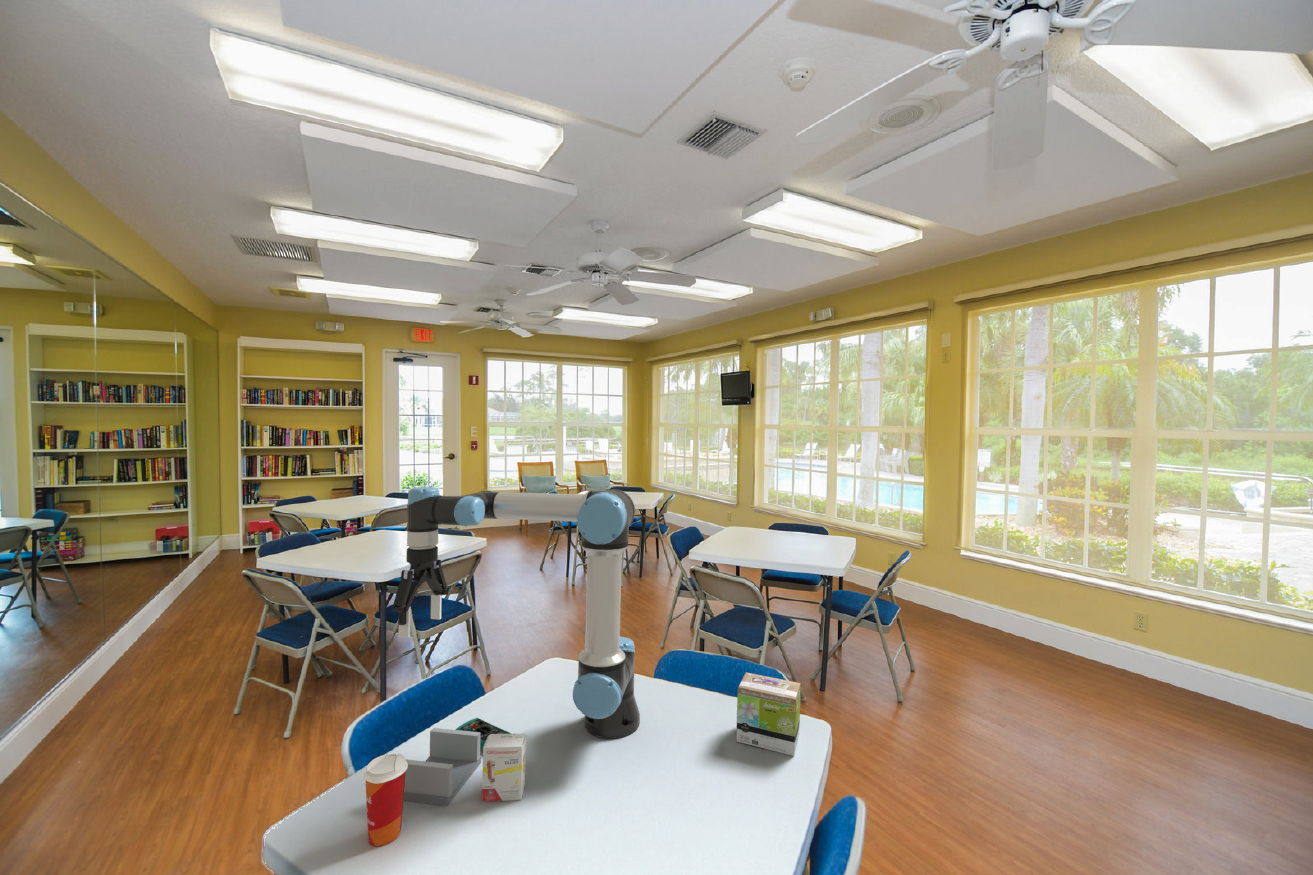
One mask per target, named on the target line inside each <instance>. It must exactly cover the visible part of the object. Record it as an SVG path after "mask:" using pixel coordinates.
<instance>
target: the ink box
mask: <svg viewBox="0 0 1313 875" xmlns="http://www.w3.org/2000/svg"><path fill="white" fill-rule="evenodd" d="M526 751H527V735H526V734H524V733H511V734H490V735H489V736H488V737H487V739H486V742H485V744H484V747H483V751H482V773H481V774H482V778H481V780H482V781H481V788H482V789H481V802H502V801H503V802H504V801H506V802H507V801H521V800H522V798H523V795H524V791H525V787H526V786H525V785H526V784H525V783H526V753H527V752H526Z"/></svg>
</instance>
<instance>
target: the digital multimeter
mask: <svg viewBox="0 0 1313 875" xmlns="http://www.w3.org/2000/svg"><path fill="white" fill-rule="evenodd" d="M454 730H460V731H470V732H480V733H481V734H480V751H482V752H483V747H484V744H485V742H486V739H487V737H488V736H489V735H490V734H512V733H511V732H509V731H507V730H505V729H502V728H501V727H498V726H496V725H494V724H491V723H490V722H487V721H485V720H483V719H481V718H479V717H476V718H472V719H470V720H468V721H466V722H464V723H462V724H461V725H459V726H457V728H455V729H454Z"/></svg>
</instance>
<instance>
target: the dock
mask: <svg viewBox="0 0 1313 875" xmlns="http://www.w3.org/2000/svg"><path fill="white" fill-rule="evenodd" d="M480 734H481V733H480V732H470V731H460V730H455V729H449V728H439V727H433V728H432V729H431V730H429V756H428V758H427V759H426V760H425V761H424V760H416V759H415V760H414V759H406V758H405V759H406V761H407V763H408V768H407V770H406V775H405V787H404V799H403V802H405V801H406V802H410V803H411V802H413V803H419V804H420V803H421V804H428V805H434V806H435V805H436V806H444V807H445V806H446V807H448V806H449V804H450V803H451V802H452V801H453V800H454V798H455V797H456V795H458V793H460V790H461V789H462V788H463V786H464V785H466V783H467V781H469V779H470V778H471V776H472V775H473V774H474V772H475V771H476V770H477V768H478V767H479V766H481V762H482V756H481V750H480Z"/></svg>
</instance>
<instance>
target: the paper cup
mask: <svg viewBox="0 0 1313 875" xmlns="http://www.w3.org/2000/svg"><path fill="white" fill-rule="evenodd" d="M407 768H408V763H407V761H406V757H405V755H403V754H401V753H398V754H396V753H390V754H387V753H385V754H382V755H380V756H377V757H375V758H374V759H372V760H371V761H370V762H369V763H368V764H367V766H366V768H365V771H364V772H363V780H365V796H366V797H365V799H366V821H367V822H366V824H367V825H366V826H367V838H368V843H369V844H370V846H372V847H384V846H386V845H390V844H391V843H393V842H394V841H395V840H396V839H398V837H399V836H400V835H401V831H402V830H401V829H402V821H403V820H402V819H403V810H404V801H403V799H404V787H405V775H406V770H407Z"/></svg>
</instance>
